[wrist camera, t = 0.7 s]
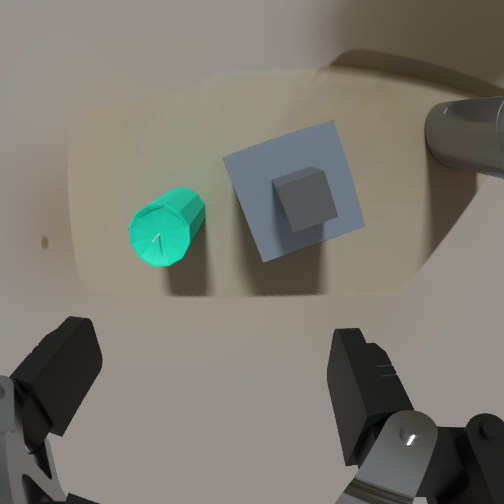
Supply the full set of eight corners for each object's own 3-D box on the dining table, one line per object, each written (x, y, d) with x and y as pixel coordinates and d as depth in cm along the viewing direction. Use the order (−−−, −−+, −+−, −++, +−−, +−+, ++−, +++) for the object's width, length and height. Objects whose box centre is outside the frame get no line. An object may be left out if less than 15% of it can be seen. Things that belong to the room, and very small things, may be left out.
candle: (200, 240, 38) (180, 280, 27) (154, 229, 38) (118, 264, 26) (210, 193, 36) (193, 215, 25) (162, 182, 36) (126, 199, 24)
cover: (300, 130, 34) (350, 115, 16) (322, 196, 36) (385, 241, 19) (232, 153, 35) (216, 160, 17) (257, 219, 37) (266, 285, 20)
